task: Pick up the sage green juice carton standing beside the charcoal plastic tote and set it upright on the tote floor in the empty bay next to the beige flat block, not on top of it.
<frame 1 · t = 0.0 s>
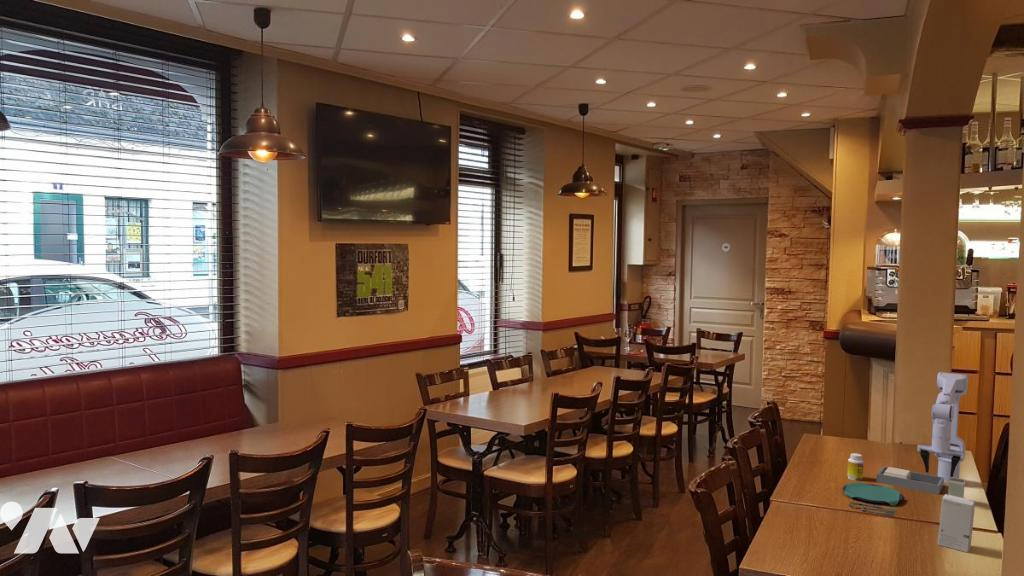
hand: (939, 474, 257), 10 cm above the table, tool pointing down, fingers open, 7 cm apart
skincare box: (955, 547, 218), on the table
tote: (909, 485, 275), on the table
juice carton: (955, 501, 259), on the table
beige flat block: (896, 481, 277), point 1 cm above the table, touching tote
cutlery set: (870, 502, 258), on the table
supplement bottle: (854, 480, 280), on the table
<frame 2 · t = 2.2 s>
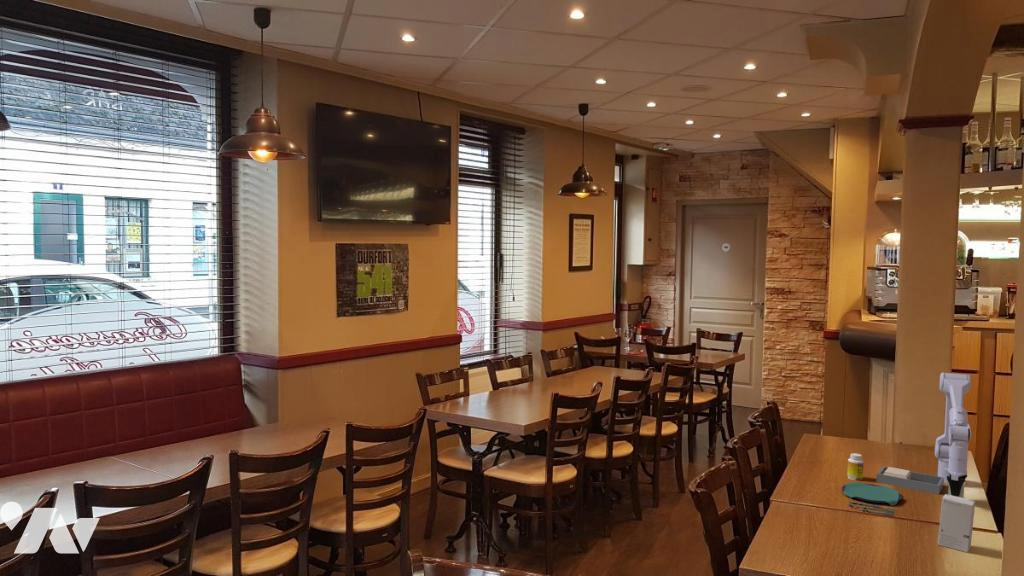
hand: (955, 495, 258), 2 cm above the table, tool pointing down, fingers closed on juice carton, 4 cm apart
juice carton: (955, 501, 259), on the table, touching gripper
everything else where it was.
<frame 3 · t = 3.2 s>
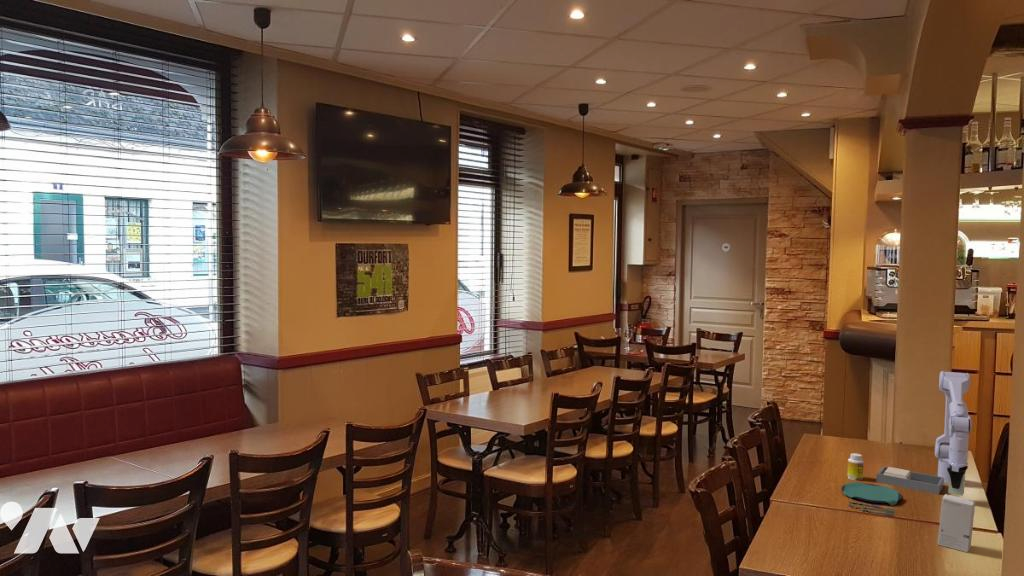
hand: (956, 486, 258), 5 cm above the table, tool pointing down, fingers closed on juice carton, 4 cm apart
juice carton: (956, 492, 258), point 3 cm above the table, touching gripper
everything else where it was.
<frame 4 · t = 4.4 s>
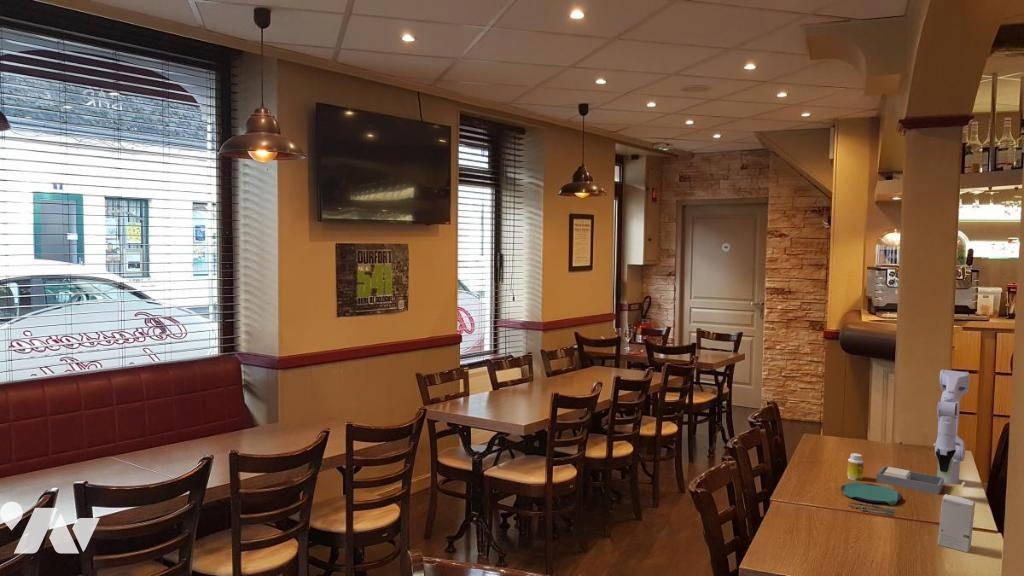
hand: (944, 470, 263), 10 cm above the table, tool pointing down, fingers closed on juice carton, 4 cm apart
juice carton: (944, 476, 263), point 7 cm above the table, touching gripper
everything else where it was.
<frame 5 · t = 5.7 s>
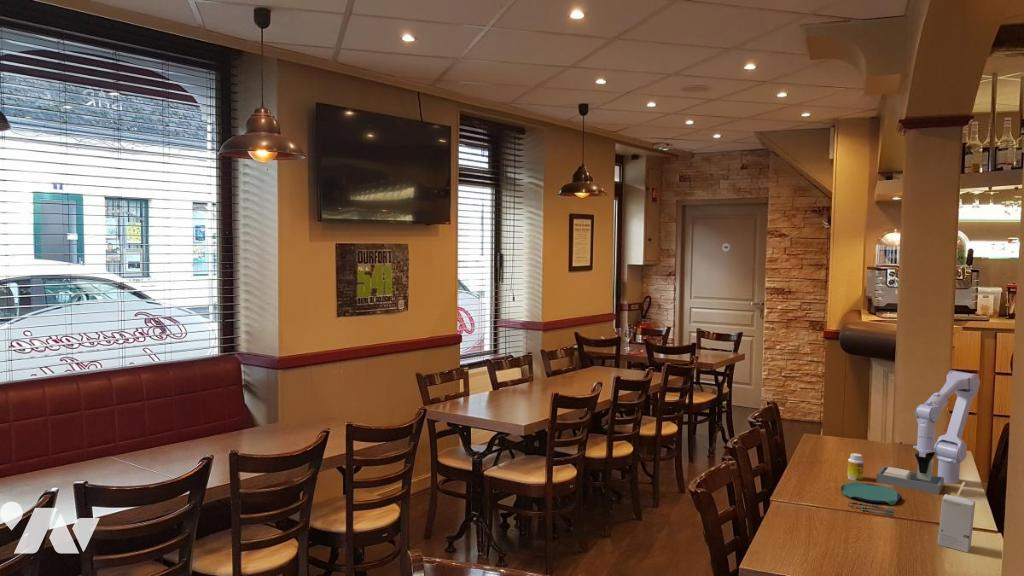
hand: (924, 471, 272), 7 cm above the table, tool pointing down, fingers closed on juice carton, 4 cm apart
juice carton: (924, 478, 272), point 4 cm above the table, touching gripper
everything else where it was.
when the fingers open (4 cm above the table, at t = 6.9 s): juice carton drops 1 cm, resting on tote.
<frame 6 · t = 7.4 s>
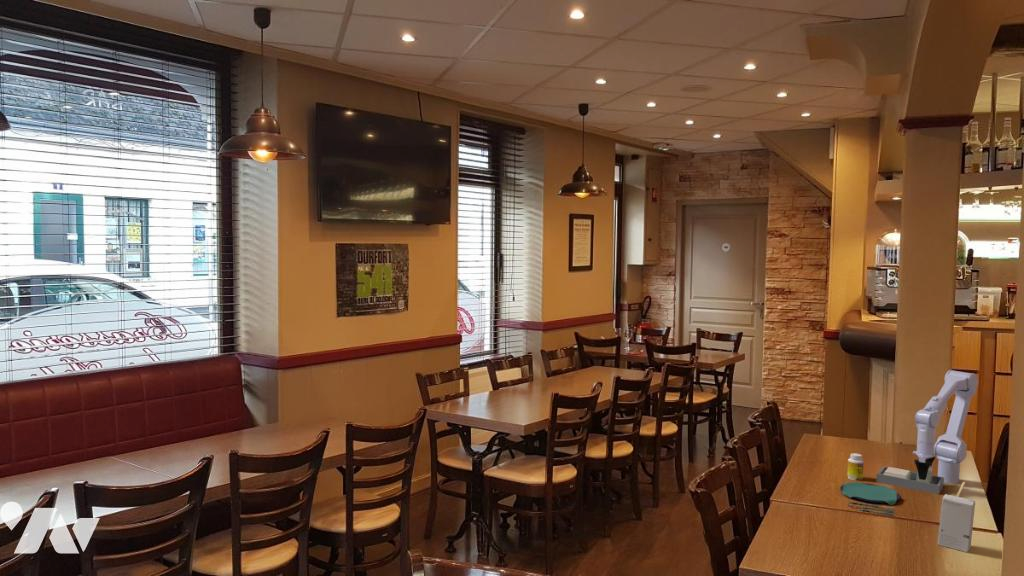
hand: (923, 476, 272), 5 cm above the table, tool pointing down, fingers open, 7 cm apart
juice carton: (923, 486, 272), point 1 cm above the table, touching tote
everything else where it was.
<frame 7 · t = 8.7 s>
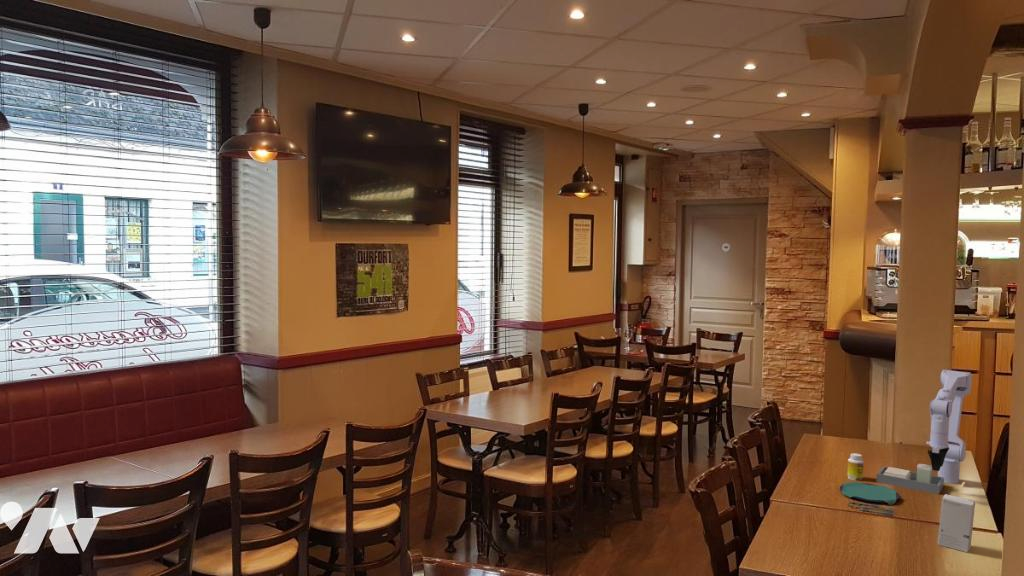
hand: (937, 468, 265), 10 cm above the table, tool pointing down, fingers open, 7 cm apart
nothing on the table moved.
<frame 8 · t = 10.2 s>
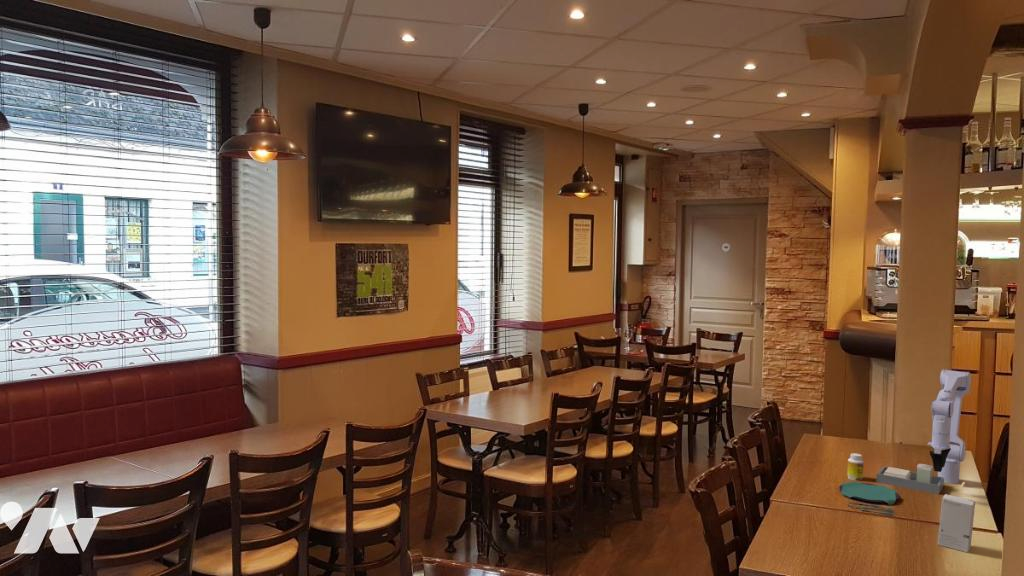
hand: (939, 468, 264), 10 cm above the table, tool pointing down, fingers open, 7 cm apart
nothing on the table moved.
at the end: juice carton inside the target area on the tote (0.3 cm from its centre), point 0.8 cm above the tote's base; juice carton tilted 0°; beige flat block moved 0.0 cm from its start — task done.
